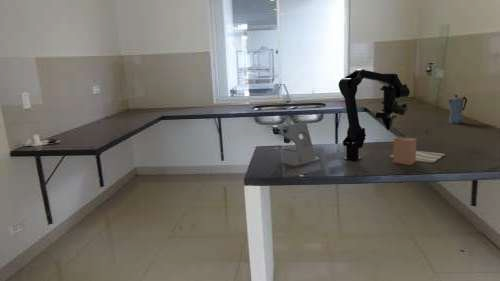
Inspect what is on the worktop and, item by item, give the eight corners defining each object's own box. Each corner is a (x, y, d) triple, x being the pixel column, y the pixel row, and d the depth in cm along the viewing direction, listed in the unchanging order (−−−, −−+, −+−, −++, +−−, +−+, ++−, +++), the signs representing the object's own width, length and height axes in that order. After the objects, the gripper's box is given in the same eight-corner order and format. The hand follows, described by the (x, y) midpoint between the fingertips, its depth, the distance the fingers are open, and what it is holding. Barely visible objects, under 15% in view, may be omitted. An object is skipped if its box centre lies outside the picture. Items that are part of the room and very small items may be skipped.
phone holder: (293, 166, 174) (293, 128, 170) (280, 162, 182) (279, 126, 178) (320, 159, 183) (320, 123, 180) (306, 156, 192) (305, 121, 188)
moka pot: (442, 122, 268) (443, 94, 264) (458, 120, 272) (460, 93, 268) (452, 124, 259) (454, 95, 255) (470, 122, 264) (472, 94, 259)
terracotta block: (410, 164, 168) (411, 141, 165) (393, 162, 173) (393, 139, 171) (415, 162, 172) (416, 138, 170) (398, 159, 177) (399, 137, 175)
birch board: (432, 163, 168) (432, 162, 168) (389, 157, 182) (389, 156, 182) (444, 155, 181) (444, 154, 181) (403, 150, 194) (403, 149, 194)
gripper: (398, 101, 172) (396, 134, 175) (413, 97, 185) (411, 128, 188) (375, 100, 180) (374, 132, 183) (391, 97, 193) (390, 126, 196)
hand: (388, 130), depth 187 cm, fingers closed
